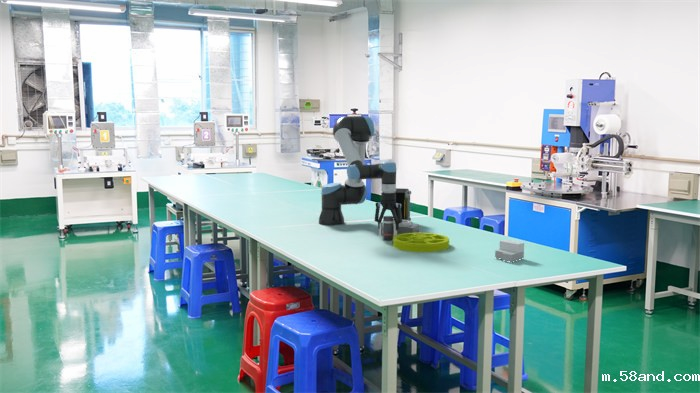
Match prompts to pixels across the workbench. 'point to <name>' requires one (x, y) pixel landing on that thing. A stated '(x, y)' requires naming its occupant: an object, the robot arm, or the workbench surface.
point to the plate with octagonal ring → (406, 227)
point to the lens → (388, 228)
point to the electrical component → (403, 203)
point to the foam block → (510, 250)
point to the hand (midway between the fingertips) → (388, 235)
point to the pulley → (421, 242)
